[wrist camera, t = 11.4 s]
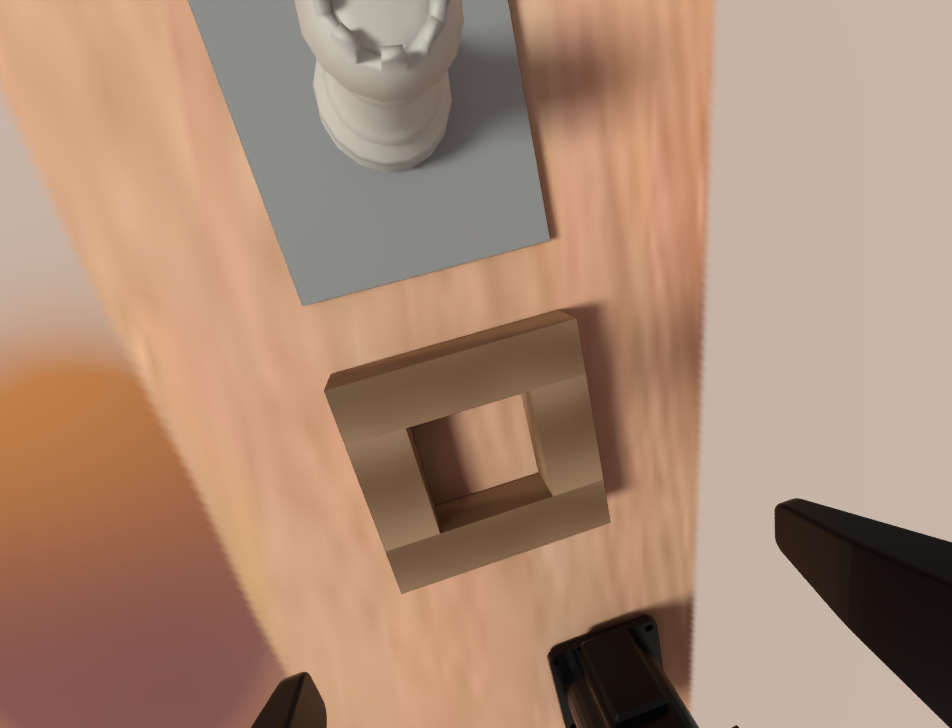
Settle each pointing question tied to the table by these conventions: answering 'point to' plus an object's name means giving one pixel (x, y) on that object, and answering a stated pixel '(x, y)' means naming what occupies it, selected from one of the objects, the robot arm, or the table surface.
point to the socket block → (455, 390)
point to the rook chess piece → (383, 75)
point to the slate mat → (369, 190)
